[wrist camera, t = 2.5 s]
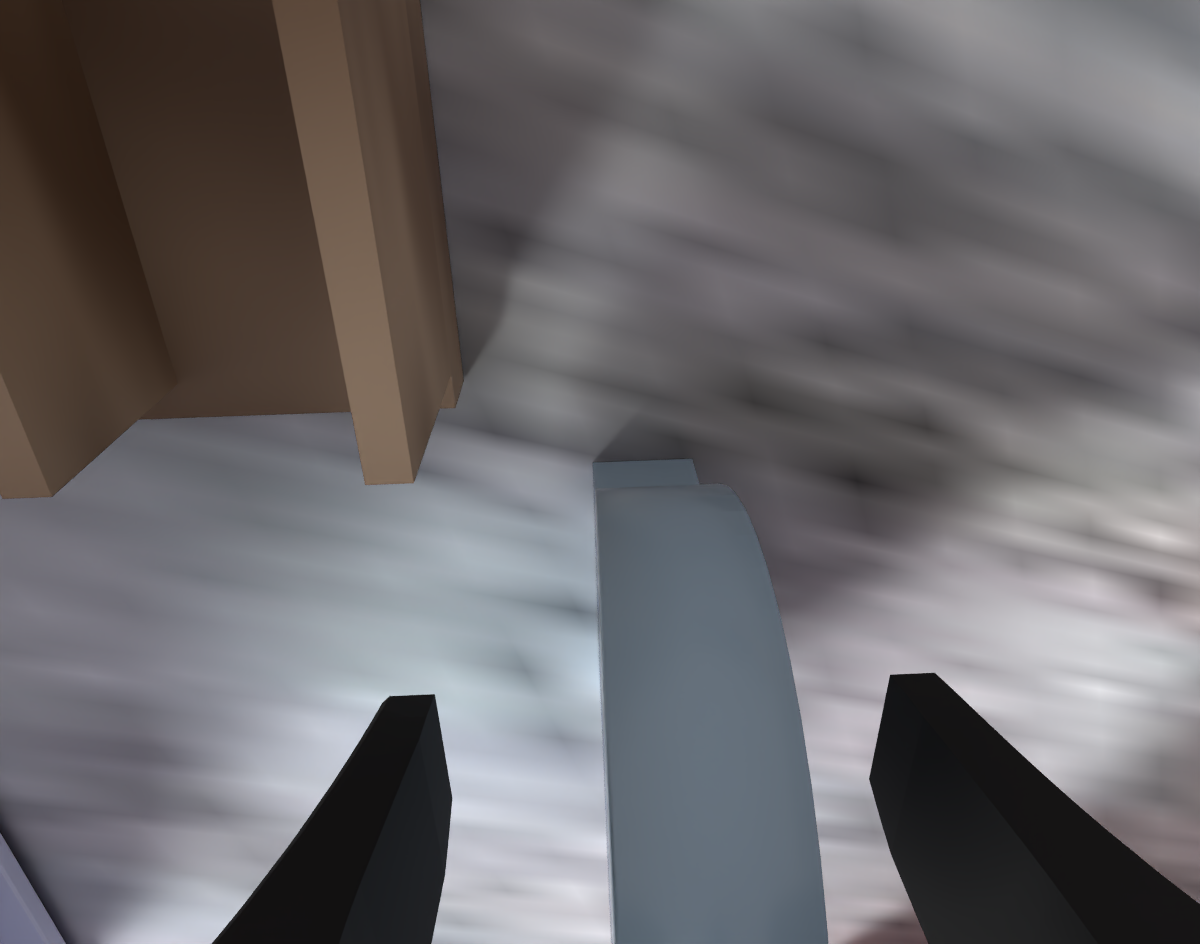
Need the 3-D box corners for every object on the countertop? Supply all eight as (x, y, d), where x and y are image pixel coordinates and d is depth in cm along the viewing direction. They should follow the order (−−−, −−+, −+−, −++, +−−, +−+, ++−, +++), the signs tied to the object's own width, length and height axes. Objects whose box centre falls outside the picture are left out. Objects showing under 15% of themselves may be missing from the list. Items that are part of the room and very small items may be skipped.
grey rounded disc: (681, 745, 16) (781, 1369, 8) (602, 749, 16) (631, 1378, 8) (695, 371, 12) (899, 912, 5) (590, 374, 12) (624, 927, 5)
